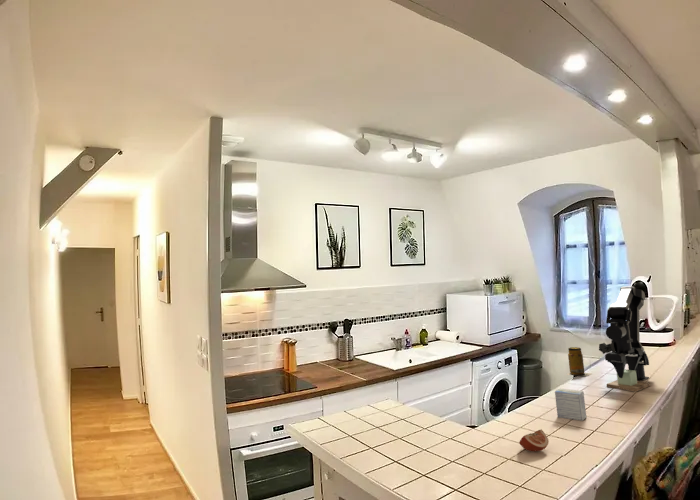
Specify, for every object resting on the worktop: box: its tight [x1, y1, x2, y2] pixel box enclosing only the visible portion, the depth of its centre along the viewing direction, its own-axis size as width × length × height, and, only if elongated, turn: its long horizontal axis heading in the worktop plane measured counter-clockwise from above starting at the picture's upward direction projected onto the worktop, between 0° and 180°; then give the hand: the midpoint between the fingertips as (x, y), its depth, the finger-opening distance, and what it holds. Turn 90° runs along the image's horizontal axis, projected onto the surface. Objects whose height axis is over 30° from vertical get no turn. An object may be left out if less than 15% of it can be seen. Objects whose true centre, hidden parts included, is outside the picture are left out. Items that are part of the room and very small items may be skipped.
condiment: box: [567, 346, 593, 377], centre depth 201 cm, size 7×8×12 cm
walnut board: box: [606, 379, 650, 392], centre depth 175 cm, size 11×11×1 cm
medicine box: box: [554, 388, 587, 422], centre depth 144 cm, size 8×4×9 cm, turn 47°
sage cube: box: [616, 369, 638, 386], centre depth 175 cm, size 5×5×5 cm
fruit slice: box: [518, 428, 550, 453], centre depth 120 cm, size 8×7×5 cm
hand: (626, 375), depth 175 cm, fingers open, 9 cm apart
